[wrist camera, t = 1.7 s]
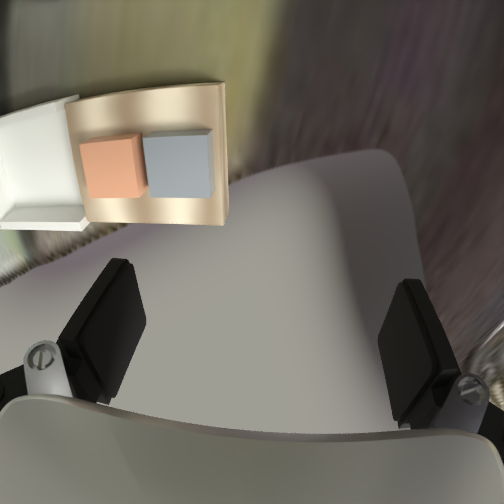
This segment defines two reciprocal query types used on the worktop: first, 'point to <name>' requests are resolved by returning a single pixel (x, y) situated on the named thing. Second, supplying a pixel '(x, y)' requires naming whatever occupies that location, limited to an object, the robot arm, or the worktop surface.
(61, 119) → the box
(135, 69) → the worktop surface
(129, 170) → the terracotta tile
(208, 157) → the slate tile
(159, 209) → the plate
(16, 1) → the worktop surface
